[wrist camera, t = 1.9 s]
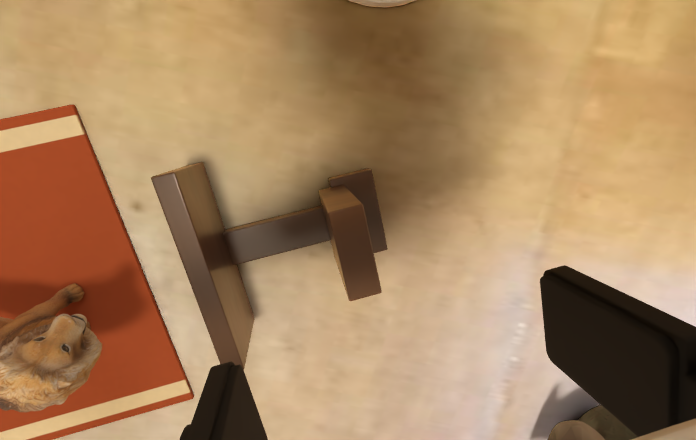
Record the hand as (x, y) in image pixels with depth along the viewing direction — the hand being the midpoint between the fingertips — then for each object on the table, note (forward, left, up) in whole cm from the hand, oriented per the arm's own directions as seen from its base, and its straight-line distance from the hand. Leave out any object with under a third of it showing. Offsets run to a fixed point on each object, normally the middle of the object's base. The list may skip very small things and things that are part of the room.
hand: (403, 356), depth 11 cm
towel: (0, -21, -16) cm, 27 cm away
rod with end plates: (0, -3, -16) cm, 16 cm away
